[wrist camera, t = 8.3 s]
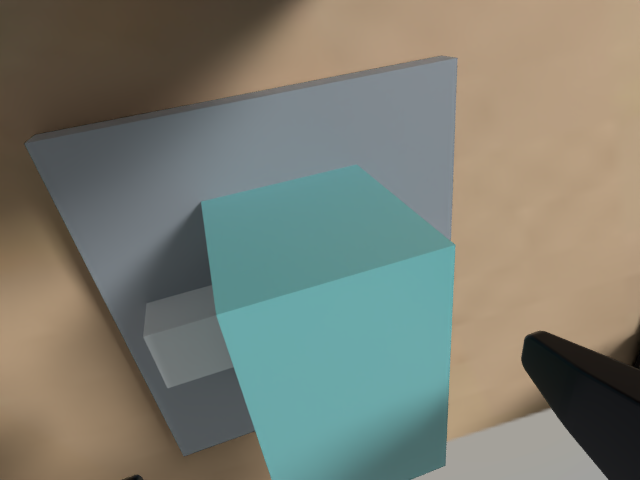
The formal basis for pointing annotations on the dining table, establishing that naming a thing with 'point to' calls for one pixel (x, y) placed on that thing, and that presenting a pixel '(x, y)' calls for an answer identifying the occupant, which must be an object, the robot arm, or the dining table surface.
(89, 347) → the dining table surface
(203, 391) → the board
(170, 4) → the dining table surface
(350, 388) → the block
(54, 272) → the dining table surface
